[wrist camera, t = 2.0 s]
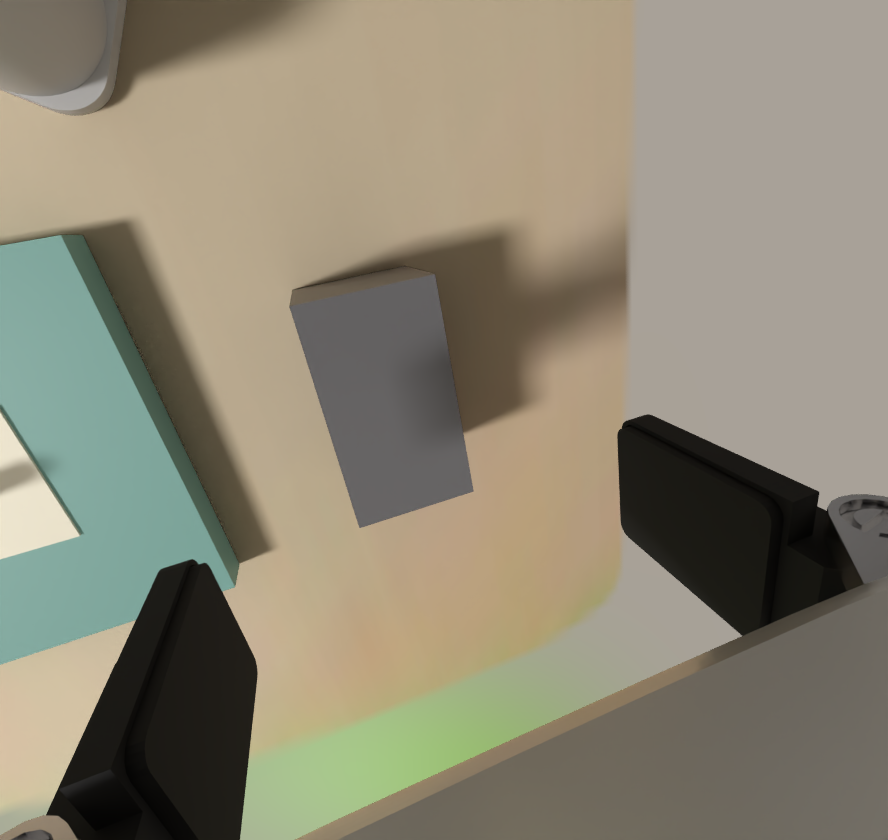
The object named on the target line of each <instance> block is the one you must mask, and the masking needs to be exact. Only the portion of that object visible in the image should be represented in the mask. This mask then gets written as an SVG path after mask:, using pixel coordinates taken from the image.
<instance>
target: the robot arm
mask: <svg viewBox="0 0 888 840" xmlns="http://www.w3.org/2000/svg"><path fill="white" fill-rule="evenodd" d="M618 463H619V489H620V514H621V525H622V528H623V530H624V532H625V534H626V535H627V536H628V537H629V538H630V539H631V540H632V541H633V542H635V543H636V544H637V545H638V546H639V547H641V548H642V549H643V550H644V551H645V552H646V553H647V554H649V555H650V556H651V557H652V558H653V559H654V560H655V561H657V562H658V563H659V564H660V565H661V566H662V567H664V568H665V569H666V570H667V571H668V572H669V573H671V574H672V575H673V576H674V577H675V578H676V579H678V580H679V581H680V582H681V583H682V584H683V585H684V586H685V587H687V588H688V589H689V590H690V591H691V592H692V593H694V594H695V595H696V596H697V597H698V598H699V599H701V600H702V601H703V602H704V603H705V604H706V605H707V606H709V607H710V608H711V609H712V610H713V611H714V612H716V613H717V614H718V615H719V616H720V617H721V618H723V619H724V620H725V621H726V622H727V623H728V624H730V625H731V626H732V627H733V628H734V629H735V630H737V631H738V632H739V633H740V634H741V635H742V637H740V638H737V639H735V640H733V641H730V642H728V643H726V644H724V645H721V646H719V647H717V648H714V649H712V650H710V651H708V652H705V653H703V654H701V655H699V656H697V657H694V658H692V659H690V660H688V661H685V662H683V663H681V664H678V665H676V666H674V667H672V668H669V669H667V670H665V671H663V672H660V673H658V674H656V675H654V676H652V677H650V678H647V679H645V680H643V681H640V682H638V683H636V684H634V685H632V686H629V687H627V688H625V689H623V690H620V691H618V692H616V693H614V694H612V695H609V696H607V697H605V698H603V699H600V700H598V701H596V702H594V703H592V704H589V705H587V706H585V707H583V708H581V709H578V710H576V711H574V712H572V713H570V714H568V715H565V716H563V717H561V718H559V719H556V720H554V721H552V722H550V723H547V724H545V725H543V726H541V727H539V728H536V729H534V730H532V731H530V732H528V733H525V734H523V735H521V736H519V737H516V738H514V739H512V740H510V741H508V742H505V743H503V744H501V745H499V746H497V747H494V748H493V749H490V750H488V751H486V752H484V753H481V754H479V755H477V756H475V757H473V758H470V759H468V760H466V761H464V762H462V763H459V764H457V765H455V766H453V767H451V768H449V769H447V770H444V771H442V772H440V773H438V774H435V775H433V776H431V777H429V778H427V779H425V780H422V781H420V782H418V783H416V784H414V785H411V786H409V787H408V788H405V789H403V790H401V791H398V792H396V793H394V794H392V795H390V796H387V797H385V798H383V799H381V800H379V801H377V802H374V803H372V804H370V805H368V806H366V807H363V808H361V809H359V810H357V811H355V812H353V813H351V814H348V815H346V816H344V817H342V818H339V819H338V820H335V821H333V822H331V823H329V824H327V825H325V826H323V827H320V828H318V829H316V830H314V831H312V832H310V833H308V834H306V835H304V836H302V837H300V838H298V839H295V840H888V497H884V496H876V495H868V494H859V495H858V494H856V495H848V496H842V497H838V498H837V499H835V500H833V501H831V503H830V504H829V506H828V508H827V511H826V510H824V509H821V508H819V507H817V503H818V497H819V492H818V491H816V490H814V489H812V488H810V487H808V486H805V485H803V484H801V483H799V482H797V481H794V480H792V479H790V478H788V477H786V476H783V475H781V474H779V473H777V472H775V471H773V470H770V469H768V468H766V467H764V466H762V465H759V464H757V463H755V462H753V461H750V460H748V459H746V458H744V457H742V456H740V455H738V454H735V453H733V452H731V451H729V450H727V449H724V448H722V447H720V446H718V445H715V444H713V443H711V442H709V441H707V440H705V439H702V438H700V437H698V436H696V435H694V434H692V433H689V432H687V431H685V430H683V429H681V428H678V427H676V426H674V425H672V424H670V423H667V422H665V421H663V420H661V419H659V418H657V417H654V416H652V415H644V416H641V417H637V418H634V419H631V420H628V421H625V422H624V423H623V426H622V429H620V430H619V432H618ZM256 685H257V665H256V661H255V658H254V655H253V653H252V651H251V649H250V647H249V645H248V643H247V641H246V639H245V637H244V635H243V633H242V631H241V629H240V627H239V625H238V623H237V621H236V619H235V617H234V615H233V613H232V611H231V609H230V607H229V605H228V603H227V601H226V599H225V597H224V595H223V592H222V590H221V588H220V586H219V584H218V582H217V580H216V578H215V576H214V574H213V572H212V570H211V568H210V567H209V565H208V564H207V563H202V564H198V562H197V561H195V560H193V559H190V560H187V561H184V562H181V563H178V564H175V565H172V566H168V567H165V568H162V569H160V570H159V572H158V573H157V576H156V578H155V580H154V582H153V584H152V587H151V589H150V591H149V593H148V595H147V597H146V600H145V602H144V604H143V606H142V608H141V611H140V613H139V615H138V617H137V619H136V622H135V624H134V626H133V628H132V630H131V632H130V635H129V637H128V639H127V641H126V643H125V646H124V648H123V650H122V652H121V654H120V657H119V659H118V661H117V663H116V664H115V666H114V668H113V670H112V672H111V675H110V677H109V679H108V681H107V683H106V685H105V688H104V690H103V692H102V694H101V696H100V699H99V701H98V703H97V705H96V707H95V709H94V712H93V714H92V716H91V718H90V720H89V723H88V725H87V727H86V729H85V731H84V733H83V736H82V738H81V740H80V742H79V744H78V746H77V749H76V751H75V753H74V755H73V757H72V760H71V762H70V764H69V766H68V768H67V770H66V773H65V775H64V777H63V779H62V781H61V784H60V786H59V788H58V790H57V792H56V794H55V797H54V799H53V801H52V803H51V805H50V808H49V810H48V812H47V814H46V816H44V815H43V816H40V817H37V818H34V819H31V820H28V821H25V822H23V823H21V824H19V825H17V826H16V827H14V828H12V829H11V830H9V831H7V832H5V833H3V834H2V835H1V836H0V840H240V833H241V824H242V814H243V805H244V796H245V787H246V777H247V768H248V759H249V750H250V740H251V731H252V722H253V712H254V703H255V694H256Z"/></svg>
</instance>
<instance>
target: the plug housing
mask: <svg viewBox="0 0 888 840" xmlns="http://www.w3.org/2000/svg"><path fill="white" fill-rule="evenodd" d="M289 307H290V310H291V313H292V316H293V319H294V323H295V326H296V329H297V332H298V335H299V338H300V341H301V345H302V348H303V351H304V354H305V357H306V360H307V364H308V367H309V370H310V373H311V376H312V379H313V382H314V386H315V389H316V392H317V395H318V398H319V401H320V405H321V408H322V411H323V414H324V417H325V420H326V424H327V427H328V430H329V433H330V436H331V439H332V442H333V446H334V449H335V452H336V455H337V458H338V461H339V465H340V468H341V471H342V474H343V477H344V480H345V483H346V487H347V490H348V493H349V496H350V499H351V502H352V506H353V509H354V512H355V515H356V518H357V521H358V525H359V528H361V527H364V526H368V525H371V524H374V523H377V522H380V521H383V520H386V519H389V518H392V517H395V516H399V515H402V514H405V513H408V512H411V511H414V510H417V509H420V508H423V507H426V506H430V505H433V504H436V503H439V502H442V501H445V500H448V499H451V498H454V497H458V496H461V495H464V494H467V493H470V492H473V486H472V480H471V474H470V469H469V463H468V457H467V452H466V446H465V441H464V435H463V429H462V424H461V418H460V412H459V407H458V401H457V395H456V390H455V384H454V378H453V373H452V367H451V362H450V356H449V350H448V345H447V339H446V333H445V328H444V322H443V316H442V311H441V305H440V300H439V294H438V288H437V283H436V277H435V274H433V273H429V272H425V271H422V270H418V269H414V268H411V267H407V266H402V267H398V268H393V269H388V270H384V271H379V272H374V273H370V274H365V275H361V276H356V277H351V278H347V279H342V280H337V281H333V282H328V283H323V284H319V285H314V286H310V287H305V288H300V289H296V290H292V295H291V301H290V306H289Z"/></svg>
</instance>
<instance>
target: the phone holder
mask: <svg viewBox="0 0 888 840" xmlns="http://www.w3.org/2000/svg"><path fill="white" fill-rule="evenodd" d="M126 5H127V0H0V90H2V91H4V92H7V93H9V94H12V95H14V96H17V97H19V98H22V99H24V100H27V101H29V102H32V103H34V104H37V105H39V106H42V107H44V108H47V109H49V110H52V111H55V112H58V113H61V114H65V115H73V116H78V115H86V114H90V113H93V112H95V111H97V110H99V109H100V108H102V107H103V106H104V105H105V104H106V103H107V102H108V101H109V99H110V97H111V96H112V93H113V91H114V87H115V83H116V76H117V69H118V62H119V55H120V48H121V40H122V33H123V26H124V19H125V12H126Z"/></svg>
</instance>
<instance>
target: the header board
mask: <svg viewBox="0 0 888 840" xmlns="http://www.w3.org/2000/svg"><path fill="white" fill-rule="evenodd" d="M190 559H193V560H195V561H197V562H198V564H202V563H207V564H208V565H209V567H210V568H211V570H212V572H213V574H214V576H215V578H216V580H217V582H218V584H219V586H220V588H221V590H222V591H225V590H228V589H231V588H234V587H235V585H236V580H237V574H238V569H239V562H238V560H237V558H236V556H235V554H234V552H233V550H232V548H231V546H230V543H229V541H228V539H227V537H226V535H225V533H224V531H223V529H222V527H221V525H220V522H219V520H218V518H217V516H216V514H215V512H214V510H213V508H212V506H211V503H210V501H209V499H208V497H207V495H206V493H205V491H204V489H203V487H202V485H201V482H200V480H199V478H198V476H197V474H196V472H195V470H194V468H193V466H192V464H191V461H190V459H189V457H188V455H187V453H186V451H185V449H184V447H183V445H182V443H181V440H180V438H179V436H178V434H177V432H176V430H175V428H174V426H173V424H172V422H171V419H170V417H169V415H168V413H167V411H166V409H165V407H164V405H163V403H162V401H161V398H160V396H159V394H158V392H157V390H156V388H155V386H154V384H153V382H152V380H151V377H150V375H149V373H148V371H147V369H146V367H145V365H144V363H143V361H142V359H141V356H140V354H139V352H138V350H137V348H136V346H135V344H134V342H133V340H132V338H131V335H130V333H129V331H128V329H127V327H126V325H125V323H124V321H123V319H122V317H121V314H120V312H119V310H118V308H117V306H116V304H115V302H114V300H113V298H112V296H111V293H110V291H109V289H108V287H107V285H106V283H105V281H104V279H103V277H102V274H101V272H100V270H99V268H98V266H97V264H96V262H95V260H94V258H93V256H92V253H91V251H90V249H89V247H88V245H87V243H86V241H85V239H84V237H83V235H58V236H52V237H47V238H41V239H35V240H29V241H24V242H18V243H12V244H7V245H1V246H0V665H1V664H4V663H7V662H10V661H13V660H16V659H19V658H22V657H25V656H28V655H31V654H34V653H37V652H40V651H43V650H46V649H49V648H52V647H55V646H58V645H61V644H64V643H67V642H70V641H73V640H76V639H79V638H82V637H86V636H89V635H92V634H95V633H98V632H101V631H104V630H107V629H110V628H113V627H116V626H119V625H122V624H125V623H128V622H131V621H134V620H136V619H137V617H138V615H139V613H140V611H141V608H142V606H143V604H144V602H145V600H146V597H147V595H148V593H149V591H150V589H151V587H152V584H153V582H154V580H155V578H156V576H157V573H158V572H159V570H160V569H162V568H165V567H168V566H172V565H175V564H178V563H181V562H184V561H187V560H190Z"/></svg>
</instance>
